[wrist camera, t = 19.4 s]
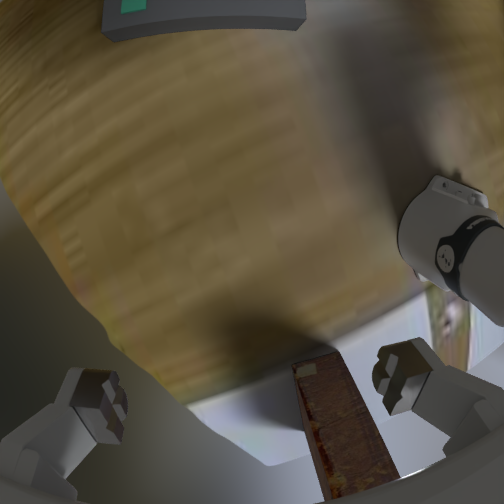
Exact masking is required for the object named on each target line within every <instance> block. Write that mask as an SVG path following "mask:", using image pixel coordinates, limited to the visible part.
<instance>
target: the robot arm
mask: <svg viewBox="0 0 504 504" xmlns="http://www.w3.org/2000/svg"><path fill="white" fill-rule="evenodd" d="M398 244H399V250H400V253H401V255H402V257H403V259H404V260H405V262H406V263H407V264H408V265H410V266H411V267H412V268H413V269H414V271H415V274H416V276H417V278H418V279H419V280H421V281H427V280H429V281H431V282H432V283H434V284H435V285H437V286H438V287H440V288H441V289H443V290H444V291H447V292H448V291H450V290H452V292H453V293H454V294H456V295H457V296H458V297H461V298H462V299H463V300H465V301H470V302H471V303H472V304H473V305H474V306H476V307H477V308H478V309H479V310H480V311H481V312H482V313H484V314H485V315H486V316H487V317H488V318H489V319H490V320H491V321H492V322H494V323H495V324H496V325H498V326H501V327H504V228H503V227H502V226H501V225H500V223H498V216H497V214H496V212H495V211H493V210H491V209H489V208H488V200H487V196H486V195H484V194H483V193H481V192H478V191H476V190H474V189H472V188H469V187H467V186H464V185H462V184H460V183H457V182H455V181H452V180H450V179H447V178H445V177H442V176H439V175H436V176H434V177H433V179H432V180H431V182H430V183H429V185H428V187H427V188H426V189H425V190H424V191H423V192H422V193H421V194H419V195H418V196H417V197H416V198H415V199H414V200H413V201H412V202H411V203H410V205H409V206H408V208H407V209H406V211H405V213H404V215H403V218H402V220H401V224H400V228H399V234H398ZM377 357H378V358H379V361H378V362H377V363H376V364H375V365H374V368H373V372H372V381H373V385H374V387H375V389H376V391H377V393H379V394H381V395H383V396H384V397H383V401H382V402H383V404H384V406H385V408H386V409H387V411H388V413H389V415H390V416H393V415H396V414H399V413H403V412H406V411H409V410H412V412H414V413H416V414H417V415H418V416H420V417H421V418H423V419H424V420H426V421H427V422H429V423H430V424H432V425H434V426H435V427H436V428H438V429H439V430H441V431H442V432H444V433H445V434H447V435H448V436H450V437H451V438H450V439H449V441H448V442H447V443H446V444H445V445H444V447H443V452H444V453H445V455H446V458H444V459H442V460H440V461H438V462H436V463H434V464H431V465H429V466H427V467H425V468H423V469H421V470H418V471H416V472H414V473H411V474H409V475H406V476H404V477H401V478H399V479H396V480H394V481H391V482H388V483H385V484H383V485H380V486H377V487H374V488H371V489H368V490H365V491H361V492H358V493H355V494H351V495H348V496H344V497H340V498H337V499H333V500H328V501H324V502H320V503H315V504H504V390H503V389H502V388H501V387H498V386H496V385H494V384H491V383H489V382H487V381H485V380H482V379H480V378H478V377H475V376H473V375H471V374H468V373H466V372H464V371H461V370H459V369H457V368H454V367H452V366H450V365H449V366H445V365H444V363H443V362H442V361H441V360H440V358H439V357H438V356H437V355H436V354H435V352H434V351H433V350H432V349H431V348H430V346H429V345H428V344H427V343H426V342H425V340H424V339H422V338H420V337H418V338H414V339H411V340H407V341H403V342H399V343H395V344H390V345H386V346H382V347H381V348H380V349H379V351H378V354H377ZM119 381H120V379H119V376H118V374H117V372H116V371H113V370H100V369H88V368H86V369H84V368H74V367H72V368H71V369H69V371H68V373H67V375H66V378H65V380H64V382H63V384H62V386H61V388H60V391H59V393H58V396H57V398H56V400H55V402H54V404H49V405H47V406H46V407H45V408H43V409H42V410H41V411H39V412H38V413H37V414H35V415H34V416H33V417H31V418H30V419H29V420H27V421H26V422H24V423H23V424H22V425H20V426H19V427H18V428H16V429H15V430H14V431H12V432H11V433H10V434H8V435H7V436H6V437H4V438H3V439H2V441H1V443H0V504H88V503H84V502H79V501H76V498H77V491H76V489H75V488H74V487H73V486H72V485H71V484H70V483H68V482H67V481H66V480H65V479H66V478H67V477H68V476H69V474H70V473H71V472H72V471H73V470H74V469H75V468H76V466H77V465H78V464H79V463H80V462H81V461H82V460H83V459H84V458H85V456H86V455H87V454H88V453H89V452H90V451H91V450H92V449H93V447H94V446H95V445H96V444H97V443H96V442H98V443H109V444H121V442H122V437H123V431H124V427H123V425H122V423H121V421H122V420H123V419H125V418H126V417H127V412H128V400H127V395H126V393H125V390H124V389H123V388H122V387H121V386H119V385H118V384H119Z"/></svg>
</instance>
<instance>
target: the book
mask: <svg viewBox="0 0 504 504" xmlns="http://www.w3.org/2000/svg"><path fill="white" fill-rule="evenodd" d="M292 370H293V375H294V380H295V385H296V390H297V395H298V401H299V406H300V411H301V417H302V422H303V427H304V432H305V435H306V438H307V442H308V445H309V449H310V452H311V456H312V459H313V462H314V466H315V469H316V473H317V476H318V480H319V483H320V486H321V490H322V493H323V497H324V500H325V501H328V500H333V499H337V498H340V497H344V496H348V495H351V494H355V493H358V492H361V491H365V490H368V489H371V488H374V487H377V486H380V485H383V484H385V483H388V482H391V481H394V480H396V479H399V478H401V477H400V475H399V473H398V471H397V469H396V466H395V464H394V462H393V460H392V458H391V456H390V454H389V451H388V449H387V447H386V445H385V443H384V441H383V439H382V437H381V435H380V433H379V430H378V428H377V426H376V424H375V422H374V420H373V418H372V416H371V414H370V412H369V410H368V408H367V406H366V404H365V402H364V400H363V398H362V396H361V394H360V392H359V390H358V388H357V386H356V384H355V382H354V380H353V378H352V376H351V374H350V372H349V370H348V368H347V366H346V364H345V362H344V360H343V358H342V356H341V354H340V352H339V351H338V352H335V353H332V354H329V355H325V356H322V357H319V358H315V359H312V360H308V361H305V362H301V363H297V364H294V365H292Z"/></svg>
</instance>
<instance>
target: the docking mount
mask: <svg viewBox="0 0 504 504" xmlns="http://www.w3.org/2000/svg"><path fill="white" fill-rule="evenodd" d="M305 20H306V4H305V0H104V6H103V16H102V29H101V33H102V34H104V35H105V36H106V37H108V38H109V39H110V40H111V41H113V42H118V41H123V40H128V39H133V38H139V37H145V36H151V35H158V34H165V33H173V32H183V31H194V30H209V29H277V30H292V31H296V30H297V29H298V28H299V27H300V26H301V25H302V24H303V23H304V21H305Z"/></svg>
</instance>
